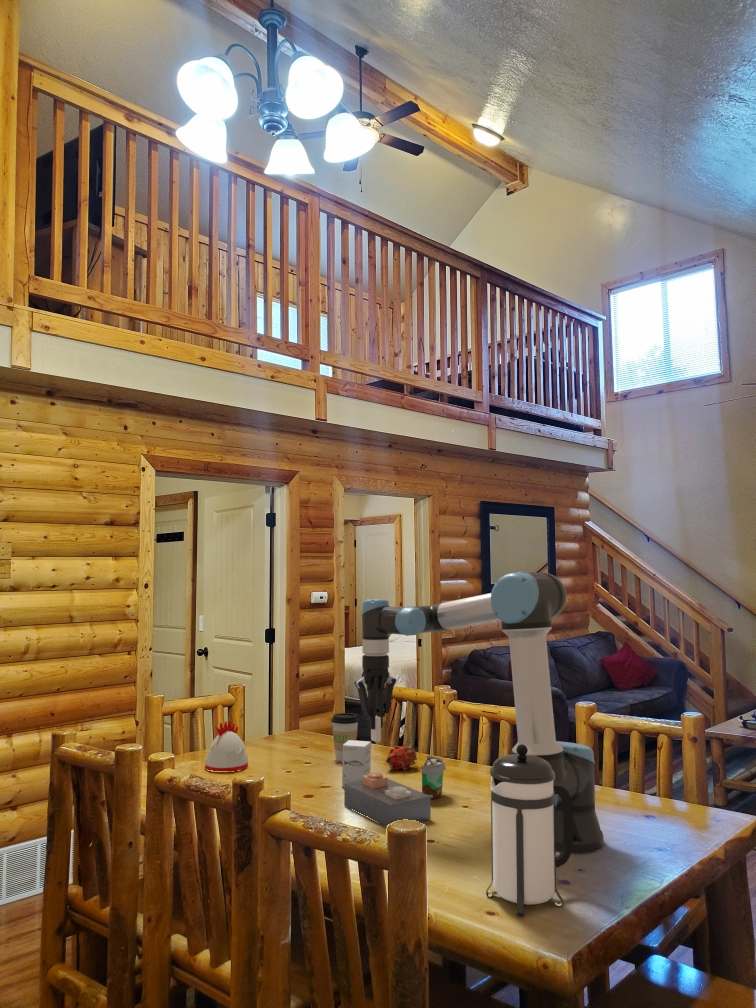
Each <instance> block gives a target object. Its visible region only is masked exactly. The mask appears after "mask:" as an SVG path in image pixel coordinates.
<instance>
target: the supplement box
mask: <svg viewBox="0 0 756 1008" xmlns="http://www.w3.org/2000/svg"><path fill="white" fill-rule="evenodd" d="M371 749H372V741H368V740H367V741H366V740H356V741H354V740H348V741H347V742H346V743H345V744H344V745H343V762H342V764H341V765H342V767H341V768H342V769H341V770H342V771H341V774H342V776H341V778H342V779H341V788H344V786H345V784H346V783H351V782H357V781H362V780H363V776H365V775H367V774H368V773H371V763H372V761H371V759H372V757H371V754H372V750H371Z"/></svg>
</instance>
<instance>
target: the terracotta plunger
mask: <svg viewBox="0 0 756 1008" xmlns="http://www.w3.org/2000/svg"><path fill="white" fill-rule="evenodd" d="M388 779H389V778H388V777H387V776H385V775H384V774H383V773H382V772H378V771H377V772H375V771H372V772H371V771H370V773H368V774H367V775H365V776H363V780H362V785H364V786H367V787H369V788H371V789H375V788H380V787H385V786H388Z"/></svg>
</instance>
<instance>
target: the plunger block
mask: <svg viewBox="0 0 756 1008" xmlns="http://www.w3.org/2000/svg"><path fill="white" fill-rule="evenodd" d="M392 787H404V788H406V789H407V791H410V792H411V796H410V797H405V798H401V799H393V798H391V797H389V796H387V795H385V790H390V788H392ZM343 788H344V795H343V796H344V797H343V799H344V800H343V802H344V805H345V806H347V807H349V808H351V809H353V810H355V811H357V812H359V813H361V814H363V815H365V816H368V817H369V818H371V819H373V820H375V821H377V822H379V823H380V824H381V825H380V824H379V825H380V826H382V825H383V826H382V827H384V826H385V828H386V826H387V825H388V824H390V823H392V822H394V821H397V820H403V819H408V820H416V821H419V823H424V822H427V821H431V818H432V817H431V816H432V815H431V813H432V811H431V802H432V801H431V799H430V796H429V795H426V794H424V793H422V791H420V790H417V789H414V788H412V787H409V786H407V785H405V784H402V783H399V782H397V781H395V780H393V779H389V778H388V786H385V787H380V788H375V789H371V788H369V787H367V786H364V785H362V781H357V782H351V783H346V784H345V786H344V787H343ZM344 805H343V806H344ZM345 806H344V807H345ZM347 807H346V808H347ZM349 808H348V809H349ZM351 809H350V810H351ZM353 810H352V811H353ZM355 811H354V812H355ZM357 812H356V813H357ZM359 813H358V814H359ZM361 814H360V815H361ZM363 815H362V816H363ZM365 816H364V817H365ZM369 818H368V819H369Z"/></svg>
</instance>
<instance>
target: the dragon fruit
mask: <svg viewBox="0 0 756 1008" xmlns="http://www.w3.org/2000/svg"><path fill="white" fill-rule="evenodd" d="M385 762H386V763H387V764H388V765H389V768H390V770H395V771H398V770H400V769H402V770H403V771H404V772H405V771H406V770H408V769H409V770H410V768H411V766H414V765H416V764H417V750H415V748H413V746H411V745H409V746H406V745H405V744H404V743H403V744H402V746H400V745H396V746H394V748H391V749H390V750H389V753H388V756H387V759H386V761H385Z"/></svg>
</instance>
